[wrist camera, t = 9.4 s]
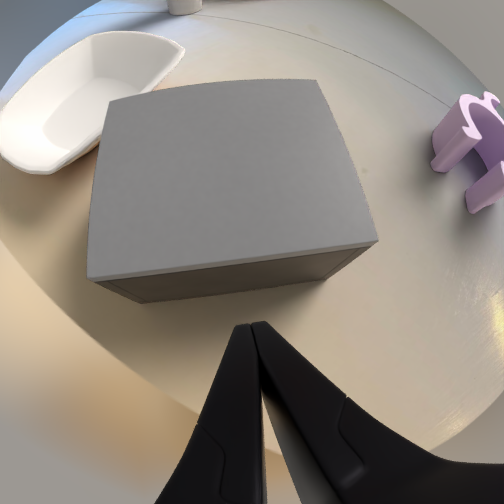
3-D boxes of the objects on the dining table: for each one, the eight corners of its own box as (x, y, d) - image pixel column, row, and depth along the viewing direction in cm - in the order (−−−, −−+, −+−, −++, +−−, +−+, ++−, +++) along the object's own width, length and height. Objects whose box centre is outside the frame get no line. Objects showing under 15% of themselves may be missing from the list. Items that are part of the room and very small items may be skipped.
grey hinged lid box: (138, 174, 24) (110, 115, 16) (297, 155, 25) (317, 94, 18) (140, 303, 20) (93, 282, 13) (328, 278, 22) (372, 246, 14)
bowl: (213, 80, 28) (212, 44, 23) (75, 227, 22) (45, 201, 17) (103, 52, 30) (95, 27, 25) (-2, 153, 24) (-21, 131, 19)
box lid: (112, 108, 16) (109, 101, 16) (313, 87, 18) (316, 79, 17) (93, 282, 13) (85, 278, 12) (372, 245, 14) (379, 240, 13)
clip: (457, 104, 31) (477, 77, 25) (507, 160, 29) (531, 138, 23) (414, 150, 27) (445, 112, 20) (483, 230, 24) (522, 206, 18)
